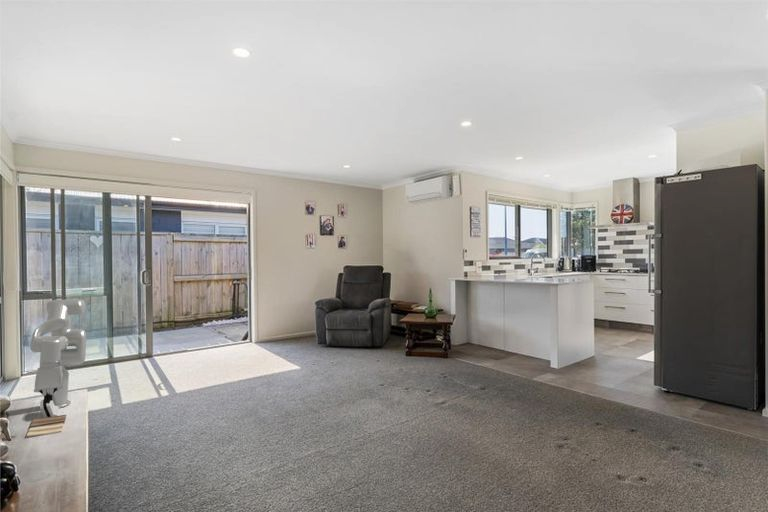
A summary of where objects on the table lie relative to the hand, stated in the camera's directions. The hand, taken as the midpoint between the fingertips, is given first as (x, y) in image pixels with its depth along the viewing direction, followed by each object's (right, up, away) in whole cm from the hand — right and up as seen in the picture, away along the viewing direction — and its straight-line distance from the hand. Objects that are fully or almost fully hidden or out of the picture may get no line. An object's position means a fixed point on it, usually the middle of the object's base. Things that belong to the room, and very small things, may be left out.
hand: (47, 402), depth 187 cm
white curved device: (-16, -14, +19) cm, 28 cm away
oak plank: (+1, -13, -2) cm, 14 cm away
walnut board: (-6, -14, +8) cm, 17 cm away
